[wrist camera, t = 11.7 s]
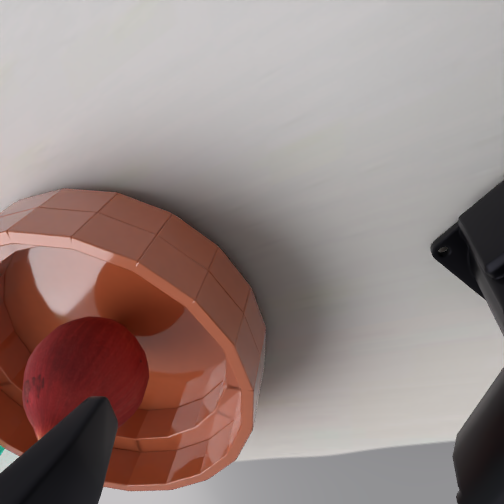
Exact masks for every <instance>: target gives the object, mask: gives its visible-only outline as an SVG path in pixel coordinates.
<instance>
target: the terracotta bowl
mask: <svg viewBox="0 0 504 504" xmlns="http://www.w3.org/2000/svg"><path fill="white" fill-rule="evenodd" d="M87 316H93V317H103V318H109V319H113V320H115V321H117V322H118V323H120V324H123V325H125V326H126V327H127V328H128V330H129V331H130V332H131V333H132V334H133V335H134V336H135V338H136V339H137V341H138V342H139V344H140V345H141V347H142V348H143V350H144V351H145V354H146V358H147V362H148V367H149V380H148V384H147V387H146V391H145V394H144V397H143V400H142V403H141V405H140V406H139V408H138V409H137V410H136V412H135V413H134V415H132V416H131V417H130V418H129V419H128V420H127V421H126V422H125V423H124V424H123V425H122V426H121V427H119V428H118V429H117V433H116V437H115V441H114V445H113V449H112V453H111V457H110V461H109V465H108V469H107V473H106V477H105V481H104V485H103V487H108V488H114V489H120V490H126V491H155V490H173V489H177V488H180V487H184V486H187V485H191V484H195V483H198V482H202V481H205V480H207V479H209V478H211V477H212V476H214V475H215V474H217V473H218V472H219V471H221V470H222V469H223V468H225V467H226V466H228V465H229V464H231V463H232V462H234V461H235V460H236V459H237V457H238V455H239V454H240V452H241V450H242V448H243V446H244V445H245V443H246V441H247V439H248V438H249V436H250V434H251V432H252V430H253V427H254V421H255V416H256V410H257V405H258V399H259V393H260V388H261V382H262V376H263V371H264V365H265V345H266V326H265V323H264V320H263V318H262V315H261V312H260V310H259V307H258V304H257V301H256V299H255V296H254V293H253V290H252V288H251V287H250V285H249V284H248V282H247V281H246V280H245V279H244V277H243V276H242V275H241V274H240V272H239V271H238V270H237V269H236V267H235V266H234V265H233V263H232V262H231V261H230V260H229V258H228V257H227V256H226V255H225V253H224V252H223V251H222V250H221V248H220V247H218V245H216V244H215V243H214V242H212V241H211V240H209V239H208V238H207V237H205V236H204V235H202V234H201V233H200V232H198V231H197V230H195V229H194V228H193V227H191V226H190V225H188V224H187V223H186V222H184V221H183V220H181V219H180V218H179V217H177V216H176V215H175V214H172V213H171V212H168V211H166V210H163V209H160V208H158V207H155V206H152V205H150V204H147V203H144V202H142V201H139V200H136V199H134V198H131V197H128V196H126V195H123V194H120V193H117V192H106V191H93V190H80V189H67V188H65V189H64V188H63V189H59V190H55V191H51V192H48V193H44V194H40V195H36V196H32V197H29V198H25V199H21V200H19V201H17V202H15V203H14V204H12V205H11V206H9V207H8V208H6V209H5V210H3V211H2V212H0V446H2V447H3V448H5V449H7V450H9V451H11V452H12V453H14V454H16V455H18V456H21V455H22V454H23V453H24V452H26V451H27V450H28V449H29V448H30V447H31V446H32V445H34V444H35V443H36V442H37V441H38V439H37V437H36V435H35V431H34V428H33V427H32V425H31V424H30V422H29V420H28V418H27V416H26V413H25V410H24V407H23V400H22V392H23V380H24V371H25V368H26V365H27V362H28V359H29V357H30V356H31V354H32V352H33V351H34V349H35V348H36V346H37V345H38V344H39V343H40V342H41V341H42V340H43V339H44V338H45V337H46V336H47V335H49V334H50V333H51V332H52V331H53V330H54V329H56V328H57V327H58V326H59V325H61V324H64V323H67V322H69V321H72V320H75V319H79V318H83V317H87Z"/></svg>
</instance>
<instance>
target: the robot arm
mask: <svg viewBox="0 0 504 504" xmlns="http://www.w3.org/2000/svg"><path fill="white" fill-rule="evenodd" d="M442 247H447V248H448V249H447V250H446V251H444V252H439V251H438V250H439V249H440V248H442ZM430 248H431V253H432V255H433V257H434V258H435V259H436V260H437V261H438V262H440V263H441V264H442V265H443V266H444V267H446V268H447V269H448V270H449V271H451V272H452V273H453V274H454V275H456V276H457V277H458V278H459V279H461V280H462V281H463V282H464V283H465V284H467V285H468V286H469V287H470V288H472V289H473V290H474V291H475V292H477V293H478V294H479V295H480V296H482V297H483V298H484V299H485V300H486V301H487V303H488V305H489V307H490V309H491V311H492V313H493V315H494V317H495V319H496V321H497V323H498V325H499V327H500V330H501V332H502V334H503V336H504V180H503V181H502V182H501V183H500V184H498V185H497V186H496V187H495V188H494V189H492V190H491V191H490V192H489V193H488V194H486V195H485V196H484V197H483V198H481V199H480V200H479V201H478V202H477V203H475V204H474V205H473V206H472V207H471V208H469V209H468V210H467V211H466V212H464V213H463V214H462V215H461V216H460V217H459V221H458V222H457V223H456V224H454V225H453V226H452V227H451V228H449V229H448V230H447V231H446V232H445V233H443V234H442V235H441V236H440V237H438V238H437V239H436V240H435V241H434V242H433V243H432V244H431V247H430ZM117 429H118V420H117V417H116V415H115V413H114V410H113V408H112V406H111V404H110V401H109V399H108V398H107V397H105V396H91V397H88V398H87V399H85V400H84V401H83V402H82V403H81V404H80V405H78V406H77V407H76V408H75V409H74V410H73V411H72V412H70V413H69V414H68V415H67V416H66V417H65V418H64V419H62V420H61V421H60V422H59V423H58V424H57V425H55V426H54V427H53V428H52V429H51V430H50V431H49V432H47V433H46V434H45V435H44V436H43V437H42V438H40V439H39V440H38V441H37V442H36V443H35V444H34V445H32V446H31V447H30V448H29V449H28V450H27V451H26V452H24V453H23V454H22V455H21V456H20V457H19V458H17V459H16V460H15V461H14V462H13V463H12V464H11V465H9V466H8V467H7V468H6V469H5V470H4V471H2V472H1V473H0V504H98V501H99V499H100V496H101V492H102V489H103V485H104V481H105V477H106V473H107V469H108V465H109V461H110V457H111V453H112V449H113V445H114V441H115V437H116V433H117ZM453 461H454V467H455V472H456V477H457V483H458V487H459V491H458V493H457V496H456V498H457V503H458V504H504V368H503V369H502V370H501V372H500V373H499V375H498V376H497V378H496V379H495V381H494V382H493V383H492V385H491V386H490V388H489V389H488V391H487V392H486V394H485V395H484V396H483V398H482V399H481V401H480V402H479V404H478V405H477V407H476V408H475V409H474V411H473V412H472V414H471V415H470V417H469V418H468V420H467V421H466V422H465V424H464V425H463V427H462V428H461V430H460V431H459V432H458V434H457V437H456V442H455V447H454V452H453Z"/></svg>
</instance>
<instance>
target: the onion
mask: <svg viewBox="0 0 504 504" xmlns="http://www.w3.org/2000/svg"><path fill="white" fill-rule="evenodd" d="M148 380H149V367H148V362H147V358H146V354H145V351H144V350H143V348H142V347H141V345H140V344H139V342H138V341H137V339H136V338H135V336H134V335H133V334H132V333H131V332H130V331H129V330H128V328H127V327H126V326H125V325H123V324H120V323H118V322H117V321H115V320H113V319H109V318H103V317H93V316H87V317H83V318H79V319H75V320H72V321H69V322H67V323H64V324H61V325H59V326H58V327H57V328H56V329H54V330H53V331H52V332H51V333H50V334H49V335H47V336H46V337H45V338H44V339H43V340H42V341H41V342H40V343H39V344H38V345H37V346H36V348H35V349H34V351H33V352H32V354H31V356H30V357H29V359H28V362H27V365H26V368H25V371H24V380H23V392H22V400H23V407H24V410H25V413H26V416H27V418H28V420H29V422H30V424H31V425H32V427H33V428H34V431H35V435H36V437H37V439H38V440H39V439H40V438H42V437H43V436H44V435H45V434H46V433H47V432H49V431H50V430H51V429H52V428H53V427H54V426H55V425H57V424H58V423H59V422H60V421H61V420H62V419H64V418H65V417H66V416H67V415H68V414H69V413H70V412H72V411H73V410H74V409H75V408H76V407H77V406H78V405H80V404H81V403H82V402H83V401H84V400H85V399H87V398H88V397H91V396H105V397H107V398H108V399H109V401H110V404H111V406H112V408H113V410H114V413H115V415H116V417H117V420H118V428H119V427H121V426H122V425H123V424H124V423H125V422H126V421H127V420H128V419H129V418H130V417H131V416H132V415H134V413H135V412H136V410H137V409H138V408H139V406H140V405H141V403H142V400H143V397H144V394H145V391H146V387H147V384H148Z"/></svg>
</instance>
